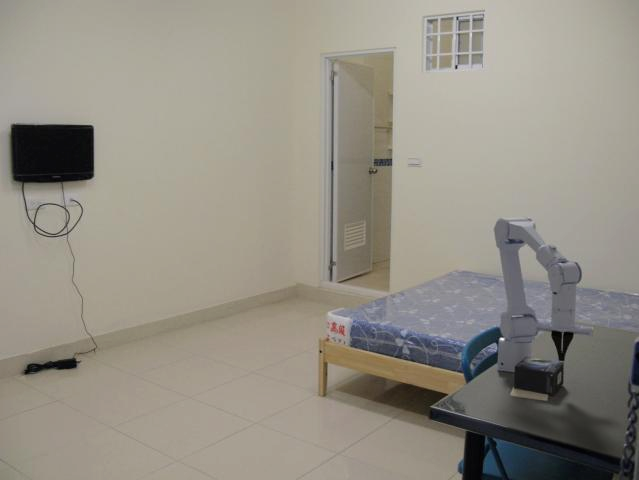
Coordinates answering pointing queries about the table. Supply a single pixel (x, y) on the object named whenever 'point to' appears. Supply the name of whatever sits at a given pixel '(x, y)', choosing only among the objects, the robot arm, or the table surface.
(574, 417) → the table surface
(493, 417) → the table surface
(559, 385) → the small box
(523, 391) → the mat
